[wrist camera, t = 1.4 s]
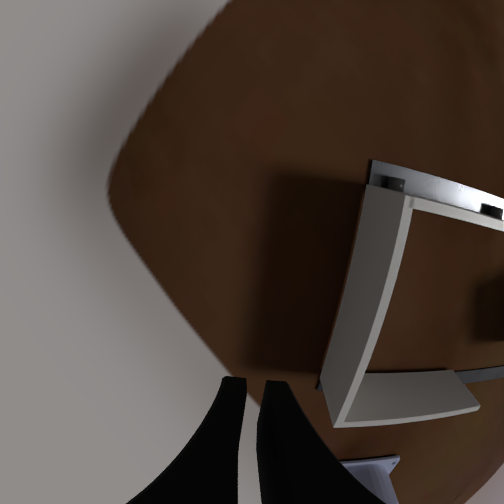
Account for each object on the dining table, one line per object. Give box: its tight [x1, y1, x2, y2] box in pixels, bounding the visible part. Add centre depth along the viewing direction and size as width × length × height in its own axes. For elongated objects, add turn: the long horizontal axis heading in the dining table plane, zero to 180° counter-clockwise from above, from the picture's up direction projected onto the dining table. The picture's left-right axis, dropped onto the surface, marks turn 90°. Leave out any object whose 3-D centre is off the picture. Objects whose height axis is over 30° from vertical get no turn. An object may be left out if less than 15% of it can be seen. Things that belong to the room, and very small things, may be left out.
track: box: [317, 160, 504, 391], centre depth 20 cm, size 16×28×1 cm, turn 83°
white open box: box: [320, 176, 504, 428], centre depth 17 cm, size 15×12×5 cm
